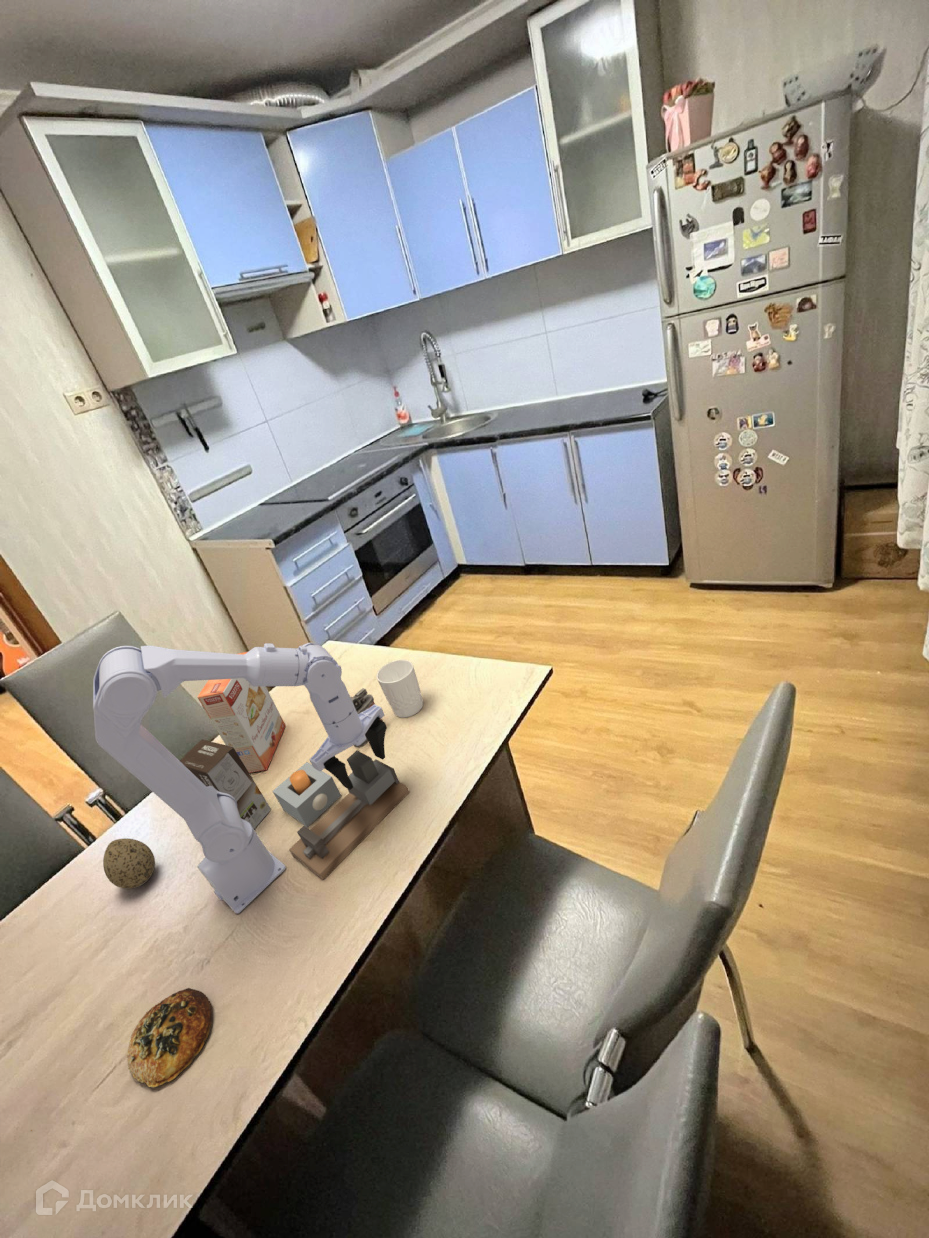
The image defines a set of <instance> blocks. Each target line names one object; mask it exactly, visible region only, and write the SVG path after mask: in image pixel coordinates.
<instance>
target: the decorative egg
mask: <svg viewBox="0 0 929 1238" xmlns="http://www.w3.org/2000/svg"><path fill="white" fill-rule="evenodd" d="M102 862H103V871H104V873H105V874H104V875H105V876H106V878H107V879H108V881H109V882H110V883H111V884H112V885H114V886H116V887H118V888H120V889H126V890H128V889H131V890H132V889H135V888H138V887H141V886H142V885H144V884H145V883H146V882H148V880H150V878H151V877H152V874H153V873H154V871H155V867H156V859H155V855H154V852H153V851H152V849H151V848H150V847H149V846H148V845H147V844H146V843H144V842H142V841H141V840H137V839H134V838H117V839H114V840H112V841H111V842H109V843H108V845H107V847H106V848H105V851H104V854H103V860H102Z"/></svg>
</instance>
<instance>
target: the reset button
mask: <svg viewBox="0 0 929 1238" xmlns="http://www.w3.org/2000/svg"><path fill="white" fill-rule="evenodd" d="M297 770H298V769H297ZM297 770H296V771H295V772H292V774H291V775H290V776H289V777H290V782H291V784H292V785H293V787H294V789H295V791H296V793H297V794H298V795H299V796H300V795H301V794H302V793H303V792H304V791H305V790H306V789H308V788H309V787H310V786H311V785H312V783H311V781H310V779H309V777H308V776H307V774H306V772H305V771H304V770H298V771H297Z"/></svg>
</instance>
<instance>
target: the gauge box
mask: <svg viewBox="0 0 929 1238" xmlns="http://www.w3.org/2000/svg"><path fill="white" fill-rule="evenodd" d="M298 770H304V771H305V772H306V774H307V776H308V777H309V779H310V781H311V783H312V785H311V786H310V787H309V788H308V789H306V790H305V791H304V792H303V793H302V794H301V795H300V796H299V795H298V794H297V793H296V791H295V789H294V787H293V785H292V784H291V782H290V776H288V777H287V778H286V779H285V780H284V781H282V782H281V783H280V784H279V785H278V786H277V787H276V788H274V789H273V790H272V794H274V796H275V798H276V800H277V802H278V803H279V805H280V807H281V809H282V810H283V811H285V812H286V813H287V814H289V816H291V817H292V818H294V819H295V820H297V821H298V822H299V823H300V824H302V826H306V827H307V828H308V827H309V826H311V824H313V823H314V822H315V821H316V820H317V819H318V818H320V816H321V815H322V814H324V813H325V812H326V811H327V810H328V809H329V808H330V807H331V806H332V805H333V804H334V803H335V802H336V801H338V799H340V797H342V794H341V792H340V789H339V788H338V786H337V784H336V782H335V780H334V778H333V775H332V776H331V775H330V774H328V773H326V772H325V771H323V770H322V771H321V772H320V771H318V770H316V769H315V768H313V766H312V764H311V762H309V761H308V762H307V761H306V762H305V763H304V764H302V766H300V767H299V768H298V769H297V770H296V771H298Z"/></svg>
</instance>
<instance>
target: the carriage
mask: <svg viewBox="0 0 929 1238" xmlns="http://www.w3.org/2000/svg"><path fill="white" fill-rule="evenodd" d="M346 761H347V763H348V765H349V768H350V769H351V771H352V772H351V773H350V774H348V777H349V779H350V780H351V782H352V784H353V788H352V789H351V790H349V789H347V791H348V794H349V793H351V794H352V795H354V796H356V797H357V798H359V799H361V800H362V801H364V802H366V803H367V804H369V805H371V804H372V803H373V802H374V801H375V800H376V799H377V798H379V797H380V796H381V795H382V794H383V793H384V792H385V791H386V790H387V789H388V788H389V787H390V786H391V785H392V784H393V783H394V782H395V780H394V778H393V775H392V773H391V771H390V769H388V768H386V767H385V766H383V765H381V764H379V763H377V762H375V761H374V760H373V758H372V757H371V756H369V755H366V754H365V753H363V752H361V751H359V750H356V751H354V752H352V754H351V755H350V756H349V757H347V758H346Z"/></svg>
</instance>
